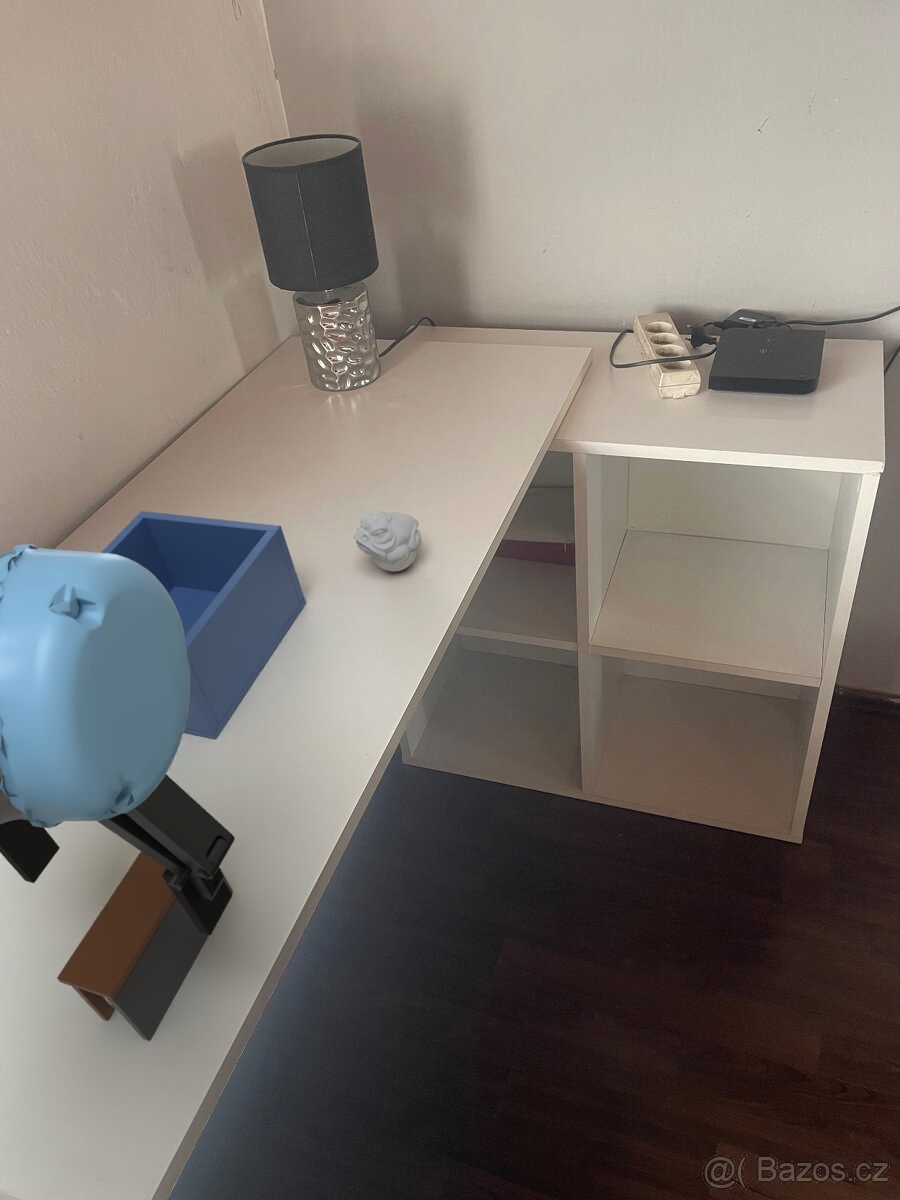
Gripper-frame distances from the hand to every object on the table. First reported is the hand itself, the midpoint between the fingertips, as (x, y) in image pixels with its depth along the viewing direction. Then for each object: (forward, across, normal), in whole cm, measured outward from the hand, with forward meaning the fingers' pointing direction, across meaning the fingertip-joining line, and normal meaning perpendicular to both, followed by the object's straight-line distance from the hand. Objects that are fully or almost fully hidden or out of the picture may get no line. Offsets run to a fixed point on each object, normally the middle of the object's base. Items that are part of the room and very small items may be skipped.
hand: (126, 888), depth 55 cm
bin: (+9, +15, -27) cm, 32 cm away
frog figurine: (+9, 0, -43) cm, 44 cm away
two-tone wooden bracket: (+8, 0, 0) cm, 8 cm away
